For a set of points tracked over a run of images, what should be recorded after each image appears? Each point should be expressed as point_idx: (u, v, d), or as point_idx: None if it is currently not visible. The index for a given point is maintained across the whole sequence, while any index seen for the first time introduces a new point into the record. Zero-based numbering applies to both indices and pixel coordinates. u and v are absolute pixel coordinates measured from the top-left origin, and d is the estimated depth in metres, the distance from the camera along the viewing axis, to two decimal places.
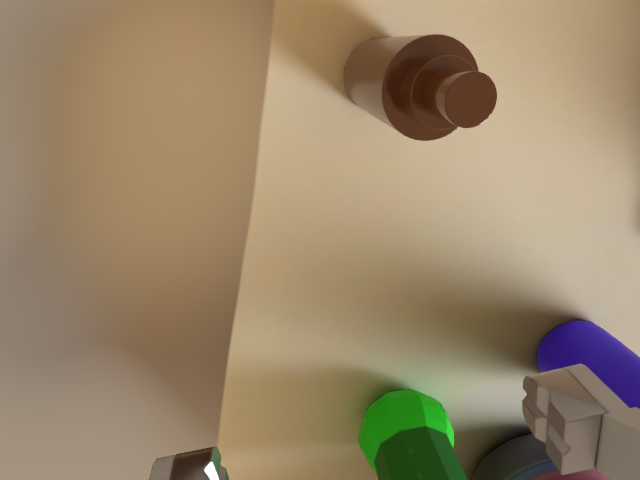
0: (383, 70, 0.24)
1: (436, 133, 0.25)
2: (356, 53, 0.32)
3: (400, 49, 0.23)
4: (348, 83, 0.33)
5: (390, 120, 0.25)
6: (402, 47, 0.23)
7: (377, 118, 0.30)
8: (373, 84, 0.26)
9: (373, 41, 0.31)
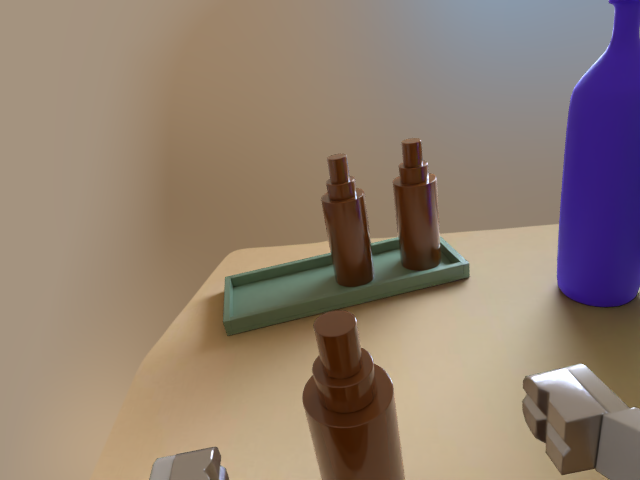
0: (334, 433, 0.25)
1: (384, 378, 0.27)
2: None
3: (314, 420, 0.25)
4: None
5: (377, 415, 0.25)
6: (312, 419, 0.25)
7: (399, 472, 0.28)
8: (352, 453, 0.25)
9: None
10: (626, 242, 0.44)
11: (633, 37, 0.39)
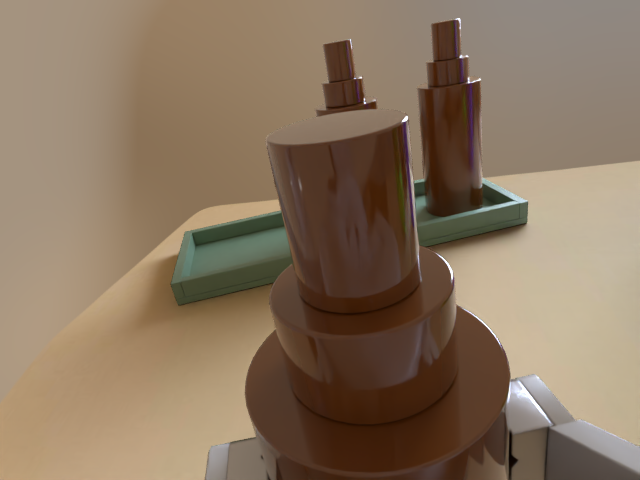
0: None
1: (473, 328, 0.10)
2: None
3: (271, 447, 0.08)
4: None
5: (479, 432, 0.07)
6: (267, 444, 0.08)
7: None
8: None
9: None
10: None
11: None
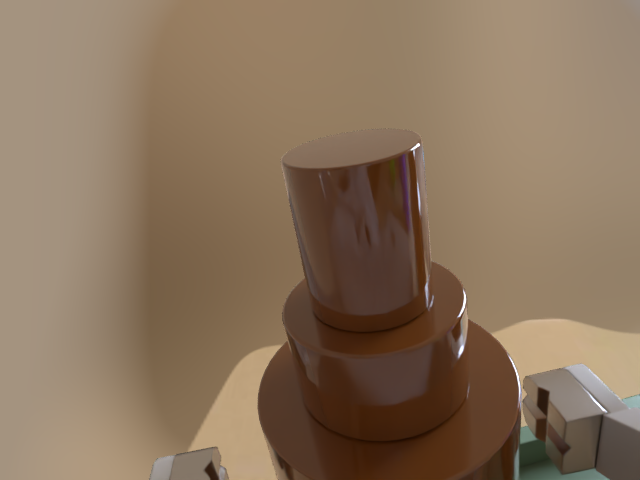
0: None
1: (483, 342, 0.10)
2: None
3: (285, 464, 0.08)
4: None
5: (491, 450, 0.08)
6: (281, 460, 0.08)
7: None
8: None
9: None
10: None
11: None
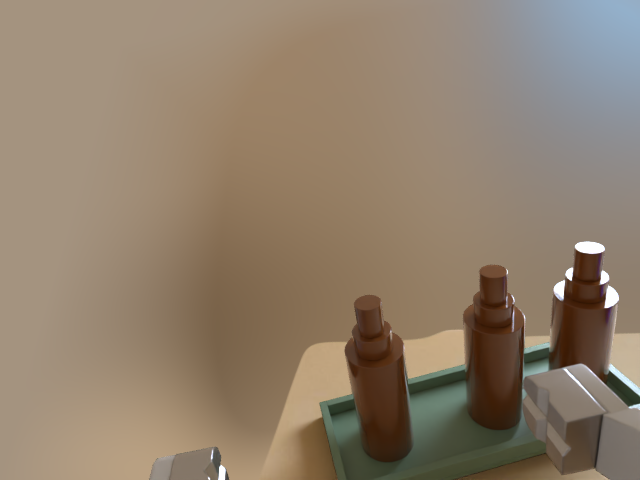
0: (367, 372, 0.39)
1: (398, 340, 0.41)
2: (371, 445, 0.43)
3: (354, 365, 0.40)
4: (393, 447, 0.43)
5: (394, 361, 0.39)
6: (352, 364, 0.40)
7: (407, 403, 0.42)
8: (378, 386, 0.39)
9: (360, 430, 0.44)
10: None
11: None
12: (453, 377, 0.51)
